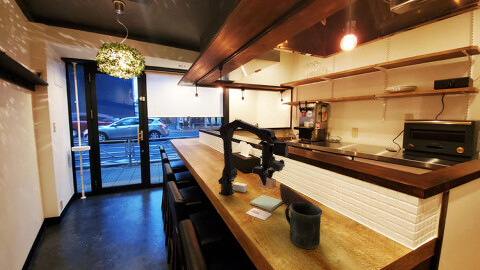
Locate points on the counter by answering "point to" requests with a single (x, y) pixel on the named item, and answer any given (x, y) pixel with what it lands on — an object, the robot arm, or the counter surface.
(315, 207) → the mug
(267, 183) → the terracotta brick
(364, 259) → the counter surface
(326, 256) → the counter surface
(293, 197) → the wooden tablet
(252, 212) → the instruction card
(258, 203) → the baseplate
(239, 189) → the cream brick
